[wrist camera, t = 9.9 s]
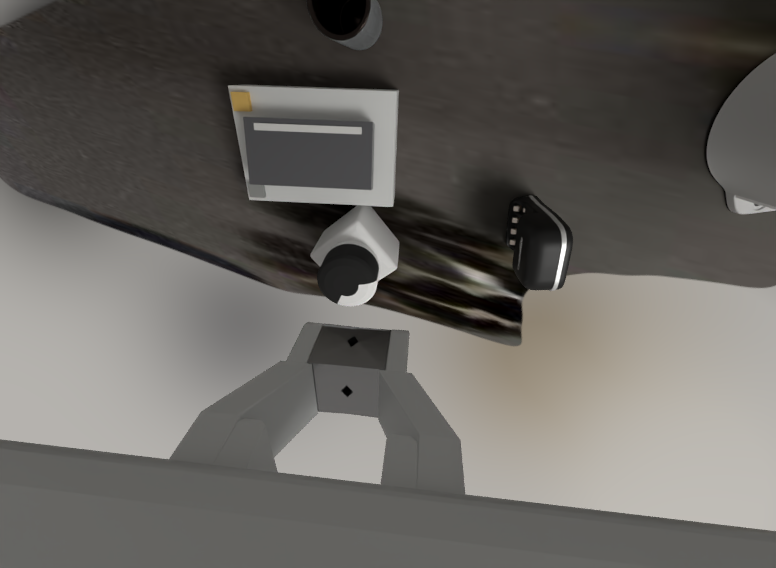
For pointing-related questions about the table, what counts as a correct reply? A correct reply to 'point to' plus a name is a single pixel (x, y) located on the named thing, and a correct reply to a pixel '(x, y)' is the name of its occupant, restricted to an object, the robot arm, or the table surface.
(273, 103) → the panel
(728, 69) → the table surface
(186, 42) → the table surface
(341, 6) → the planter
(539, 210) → the battery charger
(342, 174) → the dark gray slim case
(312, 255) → the medicine bottle
